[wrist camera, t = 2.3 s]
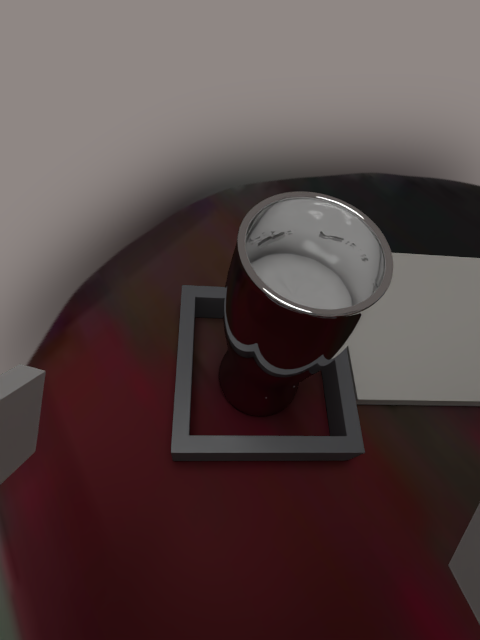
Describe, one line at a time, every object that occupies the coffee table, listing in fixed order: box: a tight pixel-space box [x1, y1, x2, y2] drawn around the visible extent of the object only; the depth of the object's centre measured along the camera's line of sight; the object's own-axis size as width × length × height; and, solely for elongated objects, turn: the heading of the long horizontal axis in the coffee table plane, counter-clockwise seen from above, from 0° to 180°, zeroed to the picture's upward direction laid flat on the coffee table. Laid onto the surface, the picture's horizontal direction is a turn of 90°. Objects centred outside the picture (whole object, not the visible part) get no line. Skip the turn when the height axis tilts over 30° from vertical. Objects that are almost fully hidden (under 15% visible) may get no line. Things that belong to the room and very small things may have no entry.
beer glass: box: [219, 192, 393, 416], centre depth 22 cm, size 7×7×15 cm
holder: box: [171, 285, 365, 461], centre depth 27 cm, size 12×12×3 cm
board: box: [346, 253, 480, 406], centre depth 32 cm, size 16×14×1 cm
